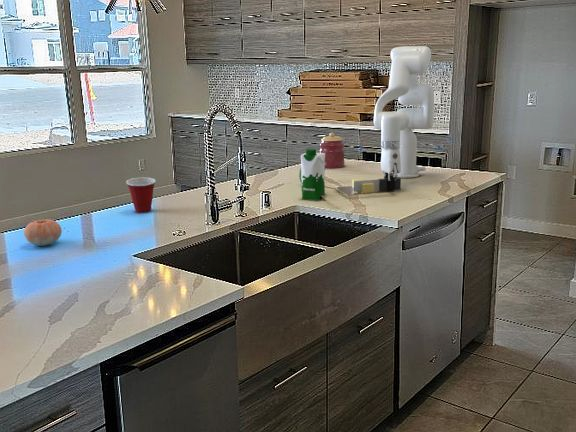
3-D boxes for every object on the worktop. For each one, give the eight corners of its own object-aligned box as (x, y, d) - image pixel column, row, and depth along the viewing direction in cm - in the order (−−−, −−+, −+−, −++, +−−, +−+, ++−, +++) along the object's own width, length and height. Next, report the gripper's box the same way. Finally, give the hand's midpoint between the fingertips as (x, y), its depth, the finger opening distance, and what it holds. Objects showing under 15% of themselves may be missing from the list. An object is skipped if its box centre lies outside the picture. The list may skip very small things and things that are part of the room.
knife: (398, 188, 245) (398, 177, 244) (400, 189, 243) (400, 178, 242) (352, 191, 240) (353, 180, 239) (355, 192, 238) (355, 181, 237)
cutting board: (379, 187, 255) (379, 183, 255) (395, 195, 240) (395, 191, 240) (335, 190, 250) (335, 187, 250) (349, 198, 235) (349, 195, 235)
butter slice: (372, 191, 241) (372, 182, 240) (374, 192, 239) (374, 183, 238) (361, 192, 240) (361, 183, 239) (362, 193, 238) (363, 184, 237)
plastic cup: (132, 216, 215) (129, 184, 212) (125, 210, 225) (122, 179, 222) (161, 212, 220) (159, 180, 217) (153, 206, 230) (151, 176, 226)
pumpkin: (25, 251, 177) (22, 225, 175) (25, 241, 187) (22, 217, 185) (64, 246, 181) (60, 221, 179) (62, 237, 191) (59, 213, 189)
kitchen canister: (318, 168, 303) (318, 134, 299) (321, 164, 315) (320, 131, 311) (343, 168, 301) (343, 133, 296) (345, 164, 313) (345, 131, 309)
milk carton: (299, 199, 236) (298, 150, 231) (307, 194, 244) (307, 146, 239) (319, 201, 232) (319, 150, 227) (327, 196, 240) (327, 147, 235)
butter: (362, 186, 251) (362, 178, 250) (369, 189, 245) (369, 181, 244) (351, 187, 250) (351, 179, 249) (357, 190, 243) (357, 182, 242)
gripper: (407, 147, 232) (406, 192, 236) (390, 141, 247) (389, 184, 251) (390, 148, 230) (389, 194, 235) (374, 142, 245) (373, 186, 250)
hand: (389, 189), depth 243 cm, fingers closed on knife, 2 cm apart
